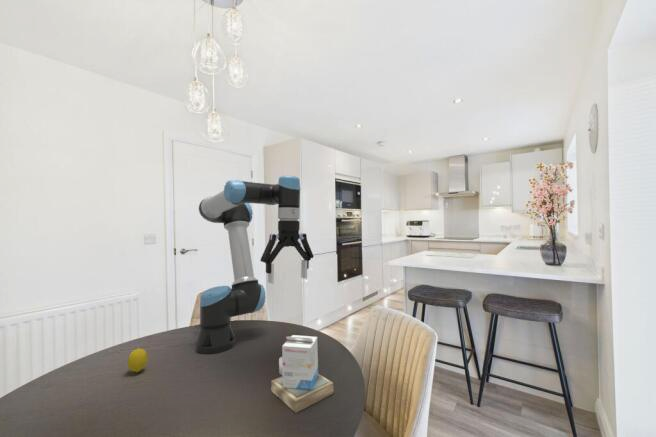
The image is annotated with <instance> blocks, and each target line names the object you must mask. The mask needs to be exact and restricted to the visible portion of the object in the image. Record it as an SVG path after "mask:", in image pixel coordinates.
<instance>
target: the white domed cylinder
mask: <svg viewBox="0 0 656 437" xmlns="http://www.w3.org/2000/svg"><path fill="white" fill-rule="evenodd" d="M278 374H279V375H281V376H283V363H282V356H280V357H279V359H278Z"/></svg>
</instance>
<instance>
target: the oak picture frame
mask: <svg viewBox="0 0 656 437" xmlns="http://www.w3.org/2000/svg"><path fill="white" fill-rule="evenodd" d="M270 387H271V389H270V391H271V392H272V393H273V394H274V395H275V396H276V397H279V398H278V399H280V400H281V401H282V402H283V403H284V404H285V405H286V406H288V408H290V409H291V410H292V411H293V412H294V413H295V414H297V413H299V412H301V411H303V410H304V409H306V408H309V407H310V406H311V405H312V406H313V405H314V404H316V403H318V402H320V401H322V400H324V399H326V398H328V397H329V396H331V395H333V394H334V382H333V381H331V380H330V379H327V377H324V376H323V375H321V374H320V373H318V377H317V379H316V381H315V383H314V386H313V388H312V390H306V389H295V388H285V387H283V375H281V376H279V377H277V378H275V379H272V380H271V381H270Z"/></svg>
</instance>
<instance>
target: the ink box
mask: <svg viewBox="0 0 656 437" xmlns="http://www.w3.org/2000/svg"><path fill="white" fill-rule="evenodd" d="M285 338H286V340H285V342H284V343H283V344H282V346H281V352H282V354H281V355H282V356H281V357H282V363H283V375H282V376H283V387H285V388H295V389H306V390H312V388H313V386H314V383H315V381H316V379H317V377H318V374H319V356H318V355H319V354H318V352H319V350H318V348H319V347H318V336H310V335H298V334H297V335H296V334H292V335H291V336H285Z"/></svg>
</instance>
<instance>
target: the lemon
mask: <svg viewBox="0 0 656 437" xmlns="http://www.w3.org/2000/svg"><path fill="white" fill-rule="evenodd" d="M147 363H148V354H147V351H146V350H145V349H143V348H139V347H138V348H136V349H134V350H133V351H131V353H130V354H129V356H128V358H127V367H128V369H129V371H131V372H135V373H139V372H140V371H142V370H143V369H144V368H145V367H146V366H147Z"/></svg>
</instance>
